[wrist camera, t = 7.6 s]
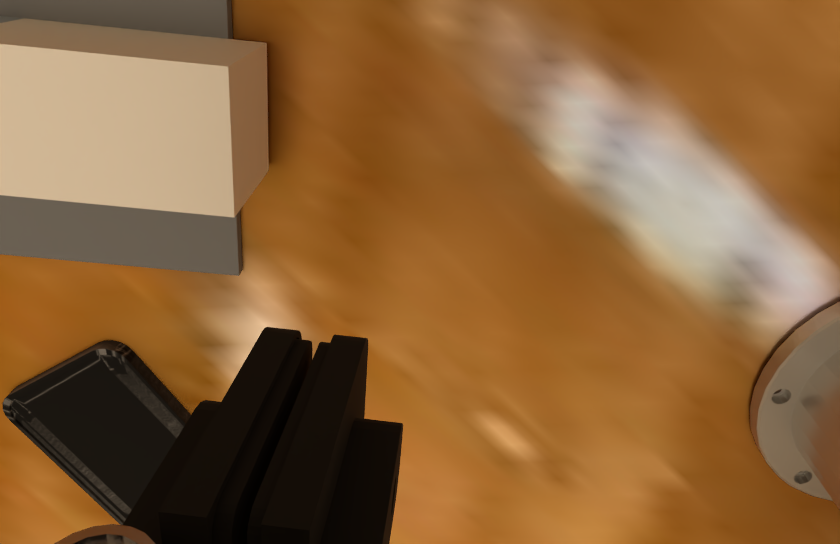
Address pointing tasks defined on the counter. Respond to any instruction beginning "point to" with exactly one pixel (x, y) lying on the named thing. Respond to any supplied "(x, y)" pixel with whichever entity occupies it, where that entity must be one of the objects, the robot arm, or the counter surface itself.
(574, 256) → the counter surface
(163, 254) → the mat
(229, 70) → the block
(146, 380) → the phone
